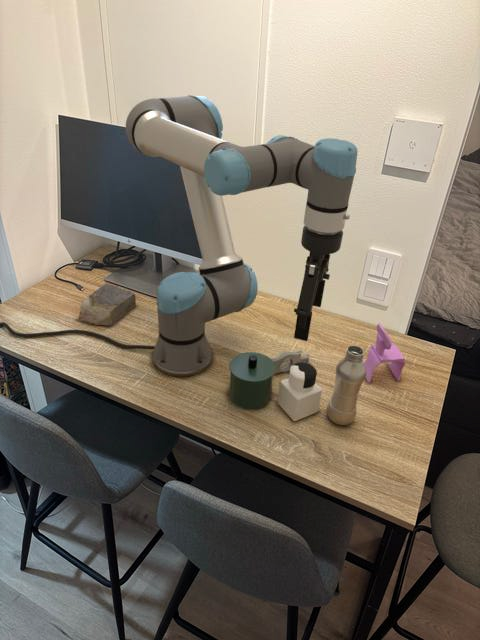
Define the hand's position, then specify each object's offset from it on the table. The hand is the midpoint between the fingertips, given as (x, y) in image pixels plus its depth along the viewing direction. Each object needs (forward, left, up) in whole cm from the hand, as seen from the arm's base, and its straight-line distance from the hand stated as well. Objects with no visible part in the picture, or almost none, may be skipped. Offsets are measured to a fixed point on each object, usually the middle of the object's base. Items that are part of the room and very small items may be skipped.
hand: (308, 321), depth 103 cm
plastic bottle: (+10, -5, -24) cm, 27 cm away
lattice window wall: (0, +14, -24) cm, 28 cm away
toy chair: (+24, +12, -24) cm, 36 cm away
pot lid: (-11, +4, -16) cm, 19 cm away
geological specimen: (-51, +40, -24) cm, 69 cm away
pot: (-11, +4, -24) cm, 27 cm away
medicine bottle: (0, -1, -24) cm, 24 cm away
